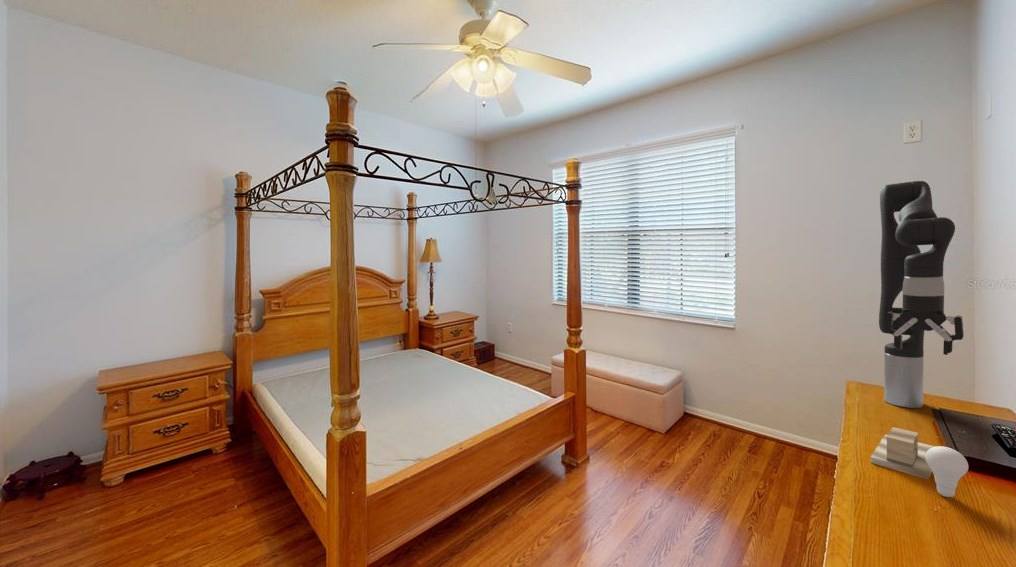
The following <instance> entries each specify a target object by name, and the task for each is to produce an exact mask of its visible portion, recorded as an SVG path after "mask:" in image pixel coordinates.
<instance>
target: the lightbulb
mask: <svg viewBox="0 0 1016 567" xmlns="http://www.w3.org/2000/svg"><path fill="white" fill-rule="evenodd" d="M925 459H926V462H927V463H928V465H929V467H930V468H931V470H932V473H933V476H934V481H935V483H936V491H937V493H939V494H940V495H942V496H943V497H945V498H953V497H955V492H956V488H957V487H958V483H959V480H960V479H961V478H962V477H963V476H964V475H966V474H967V473H968V470H969V463H968V461H967V459H966V457H964V455H963V454H962V453H960V452H959V451H957V450H955V449H954V448H950V447H947V446H943V445H941V446H939V445H938V446H935V447H933V448H930V449H929V450H928V451H927V452H926V455H925Z"/></svg>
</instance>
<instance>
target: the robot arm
mask: <svg viewBox="0 0 1016 567" xmlns="http://www.w3.org/2000/svg"><path fill="white" fill-rule="evenodd" d="M879 208H880V223H881V224H880V225H881V244H880V247H881V248H880V283H881V286H880V289H881V290H880V301H879V302H880V303H879V312H878V313H879V314H878V316H879V317H878V325H879V326H878V327H879V330H880V331H881V332H882V333H883V334H887V335H889V334H890V335H892V336H893V342H891V343H890V342H889V343H887V344H885V345H884V370H883V371H884V374H883V375H884V377H883V378H884V383H883V384H884V386H883V389H884V390H883V393H884V394H883V395H884V396H883V400H884V402H886V403H888V404H890V405H894V406H897V407H902V408H911V409H920V408H923V407H924V403H923V402H924V355H925V354H924V339H925V338H924V337H925V331H926V332H931V331H934V332H936V333H937V335H939V336H940V337H942V339H943V353H942V354H943V355H945V356H946V355H947V356H948V355H949V354H951V353H952V351H953V341H961V340H963V339H964V336H965V335H964V321H963V316H962V315H955V316H954V315H952V316H949V315H947V316H946V314H945V281H944V263H945V262H944V261H945V256H946V253H947V250H948V248H949V245H950V244H951V242H952V239H953V237H954V235H955V232H956V226H955V222H953V221H952V219H951V218H948V217H943V216H942V217H940V216H939V217H938V216H937V213H936V212H935V210H934V209H933V198H932V190H931V187H930V185H929V183H928V182H926V181H924V180H913V181H905V182H898V183H892V184H891V183H890V184H885V185H883V187H882V188H881V190H880V193H879ZM895 213H898V221H899V223H898V222H897V220H896V218H895V217H896V216H895ZM919 246H932V247H931V248H930V249H929V250H927V251H924V252H921V250H920V247H919ZM901 292H902V307H893V306H894V303H895V301H896V299H897V297H898V296H899V295H900V293H901ZM946 321H947V322H949V324H950V325H953V326H954V334H950V333H949V331H947V329H946V328H945V327H944V326H943V325H942V324H943V323H945V322H946ZM903 336H909V337H908V338H906V339H904V340H903Z"/></svg>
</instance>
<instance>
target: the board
mask: <svg viewBox="0 0 1016 567" xmlns="http://www.w3.org/2000/svg"><path fill="white" fill-rule="evenodd" d="M887 436H888V434H884V436H883V437H882V438H881V440H880V442H879V443H878V444H877V446H876V448H875V449H874V451H873V452H872V454H871V455H870V463H872V464H874V465H878V466H881V467H885V468H887V469H891V470H896V471H898V472H901V473H902V472H903V473H905V474H908V475H912V476H914V477H919V478H922V479H926V480H930V477H931V475H932V473H933V471H932V470H931V468H930V467H929V465H928V463H927V462H926V459H925V455H926V452H927V451H928V450H929V449H930V448H933V447H936V446H934V445H930V444H926V443H923V442H918V456H917V458H916V461H915V463H914V466H913V467H910V466H906V465H903V464H899V463H896V462H892V461H888V460H887Z"/></svg>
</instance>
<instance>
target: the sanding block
mask: <svg viewBox="0 0 1016 567" xmlns="http://www.w3.org/2000/svg"><path fill="white" fill-rule="evenodd" d="M887 435H888V436H887V460H888V461H892V462H896V463H899V464H903V465H906V466H910V467H913V466H914V463H915V461H916V458H917V456H918V443H919V433H918V432H916V431H912V430H907V429H903V428H900V427H899V428H898V427H894V426H892V427H891V429H890V431H889V433H888V434H887Z"/></svg>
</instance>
